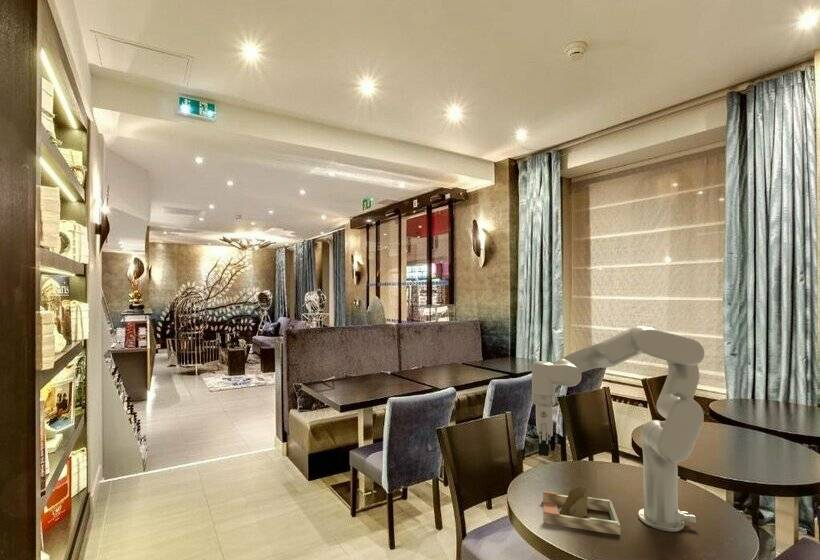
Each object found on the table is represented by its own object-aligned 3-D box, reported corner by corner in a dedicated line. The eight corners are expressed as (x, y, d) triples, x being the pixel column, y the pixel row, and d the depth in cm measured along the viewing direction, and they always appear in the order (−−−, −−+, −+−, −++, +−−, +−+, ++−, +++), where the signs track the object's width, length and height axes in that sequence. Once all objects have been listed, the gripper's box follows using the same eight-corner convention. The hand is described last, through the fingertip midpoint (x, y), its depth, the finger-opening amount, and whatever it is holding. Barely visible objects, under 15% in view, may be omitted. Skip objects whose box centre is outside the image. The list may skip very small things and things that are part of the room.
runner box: (611, 510, 142) (611, 500, 142) (620, 535, 128) (620, 523, 128) (543, 501, 148) (543, 491, 148) (544, 523, 134) (544, 512, 134)
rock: (561, 517, 133) (594, 516, 132) (554, 488, 138) (586, 486, 137) (557, 523, 141) (587, 522, 140) (551, 495, 146) (580, 494, 145)
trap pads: (556, 503, 147) (556, 492, 147) (559, 525, 133) (559, 514, 133) (543, 501, 148) (543, 491, 148) (544, 523, 134) (544, 512, 134)
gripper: (556, 405, 134) (556, 464, 133) (554, 394, 149) (554, 447, 148) (531, 403, 136) (531, 461, 135) (532, 392, 151) (532, 444, 150)
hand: (543, 453), depth 142 cm, fingers closed
